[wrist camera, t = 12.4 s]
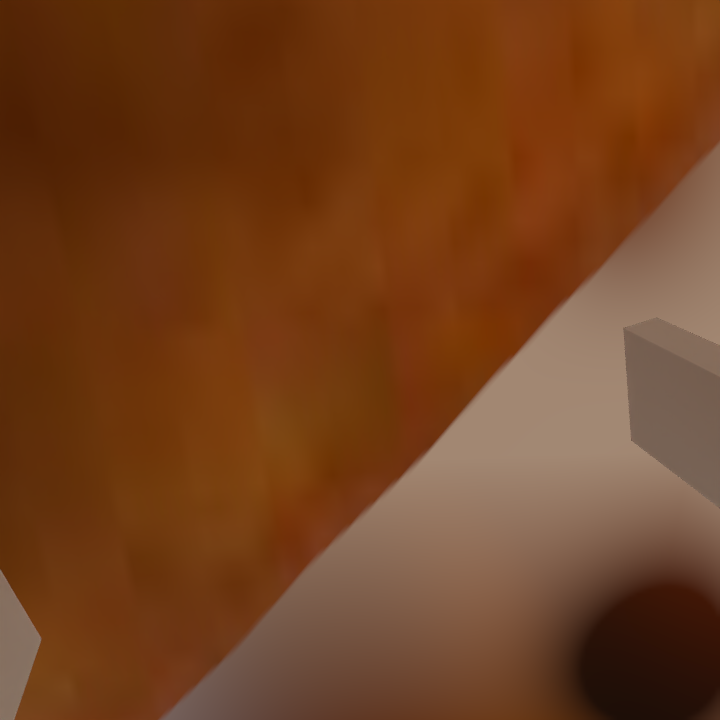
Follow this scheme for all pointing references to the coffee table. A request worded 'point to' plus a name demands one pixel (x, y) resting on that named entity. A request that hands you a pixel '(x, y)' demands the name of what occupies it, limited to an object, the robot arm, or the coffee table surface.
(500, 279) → the coffee table surface
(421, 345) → the coffee table surface
